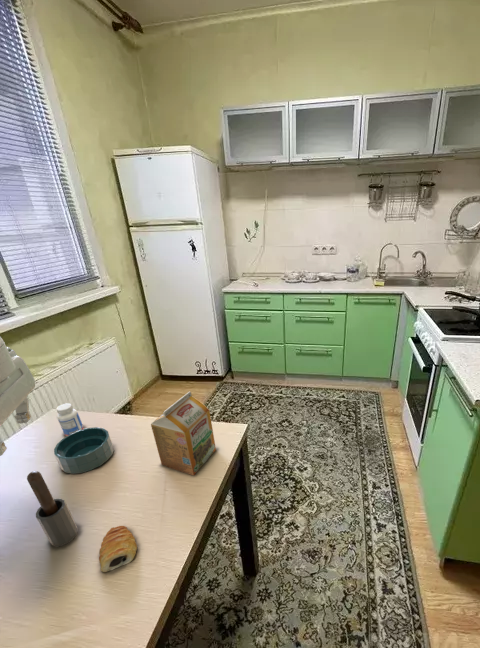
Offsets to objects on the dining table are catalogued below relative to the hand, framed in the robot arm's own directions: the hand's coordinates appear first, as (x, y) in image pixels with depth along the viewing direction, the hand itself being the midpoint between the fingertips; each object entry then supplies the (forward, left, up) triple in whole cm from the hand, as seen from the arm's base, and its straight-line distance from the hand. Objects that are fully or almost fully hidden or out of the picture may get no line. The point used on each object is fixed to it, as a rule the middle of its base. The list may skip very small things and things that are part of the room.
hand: (13, 436), depth 58 cm
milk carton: (+26, +18, -28) cm, 42 cm away
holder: (0, 0, -28) cm, 28 cm away
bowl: (-2, +26, -28) cm, 38 cm away
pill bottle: (-10, +41, -28) cm, 51 cm away
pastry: (+12, -7, -28) cm, 31 cm away
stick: (0, 0, -27) cm, 27 cm away
